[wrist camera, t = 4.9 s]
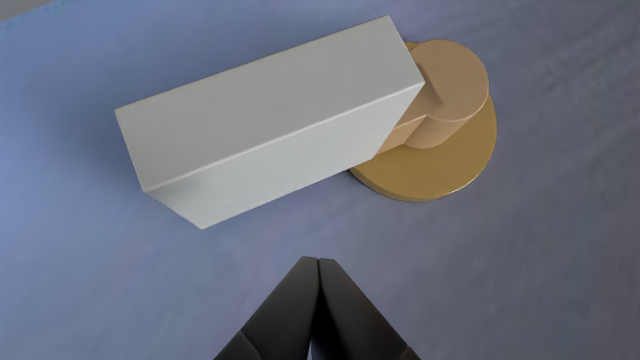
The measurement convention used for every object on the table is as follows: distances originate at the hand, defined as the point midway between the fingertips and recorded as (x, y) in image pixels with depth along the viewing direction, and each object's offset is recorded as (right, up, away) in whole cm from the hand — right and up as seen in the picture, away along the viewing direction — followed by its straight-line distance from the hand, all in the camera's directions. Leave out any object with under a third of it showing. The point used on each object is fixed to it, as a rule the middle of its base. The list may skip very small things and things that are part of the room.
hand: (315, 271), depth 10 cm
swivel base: (+5, +5, +10) cm, 12 cm away
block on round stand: (+1, +4, +8) cm, 9 cm away
